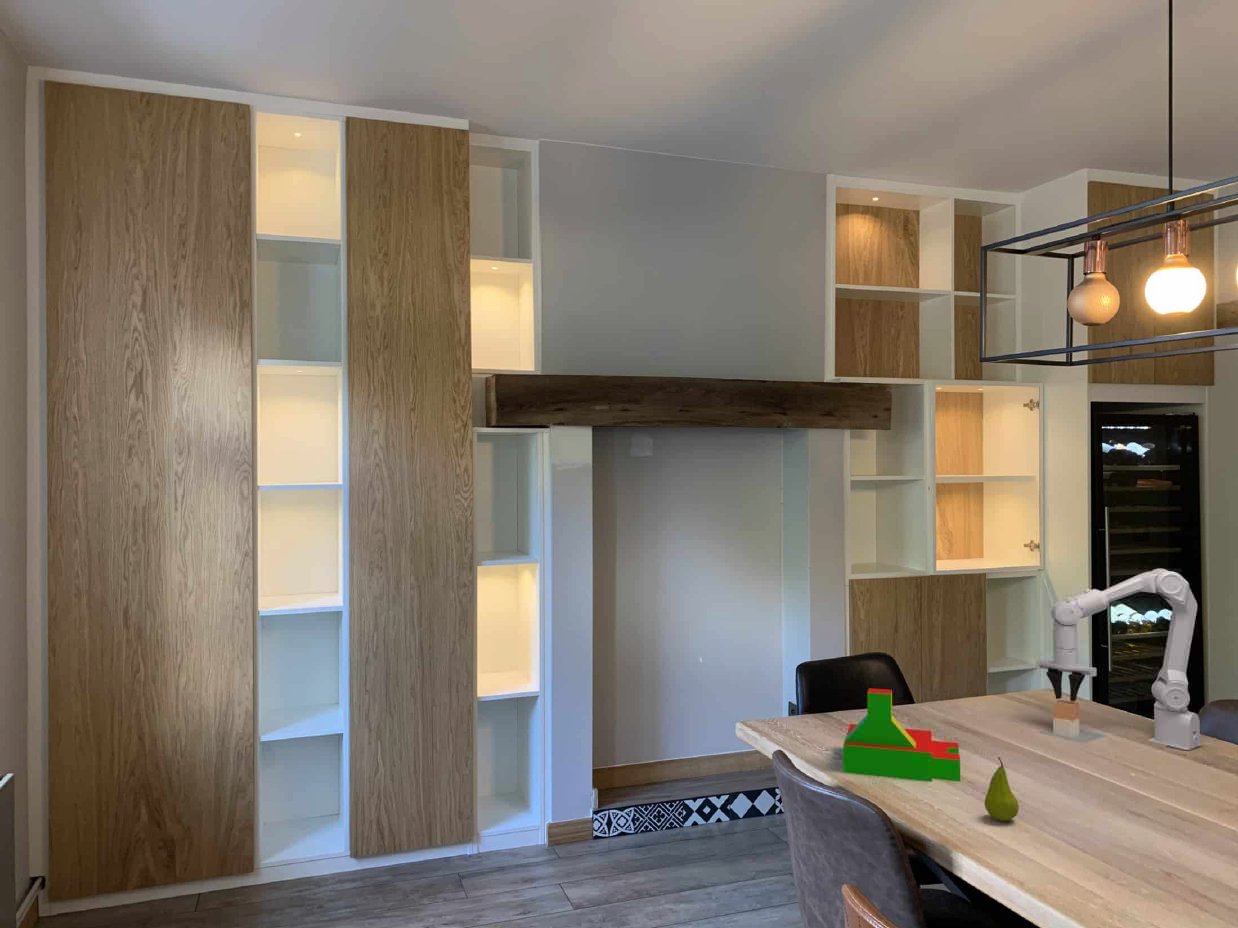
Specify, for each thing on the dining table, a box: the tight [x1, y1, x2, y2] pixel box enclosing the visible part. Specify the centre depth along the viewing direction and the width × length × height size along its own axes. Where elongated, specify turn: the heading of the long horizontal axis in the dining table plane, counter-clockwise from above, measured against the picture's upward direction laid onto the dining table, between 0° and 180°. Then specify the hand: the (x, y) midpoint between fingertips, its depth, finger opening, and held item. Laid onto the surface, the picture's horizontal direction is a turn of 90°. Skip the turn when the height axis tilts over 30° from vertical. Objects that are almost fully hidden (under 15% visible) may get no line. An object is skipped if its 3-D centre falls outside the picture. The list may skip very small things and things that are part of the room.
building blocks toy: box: [842, 687, 961, 782], centre depth 206 cm, size 19×25×18 cm
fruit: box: [984, 756, 1020, 822], centre depth 172 cm, size 6×6×12 cm
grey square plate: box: [1037, 727, 1107, 744], centre depth 231 cm, size 12×12×1 cm
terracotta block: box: [1053, 699, 1080, 721], centre depth 232 cm, size 4×4×4 cm
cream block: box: [1052, 717, 1080, 737], centre depth 231 cm, size 4×4×4 cm
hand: (1065, 699), depth 232 cm, fingers open, 3 cm apart
